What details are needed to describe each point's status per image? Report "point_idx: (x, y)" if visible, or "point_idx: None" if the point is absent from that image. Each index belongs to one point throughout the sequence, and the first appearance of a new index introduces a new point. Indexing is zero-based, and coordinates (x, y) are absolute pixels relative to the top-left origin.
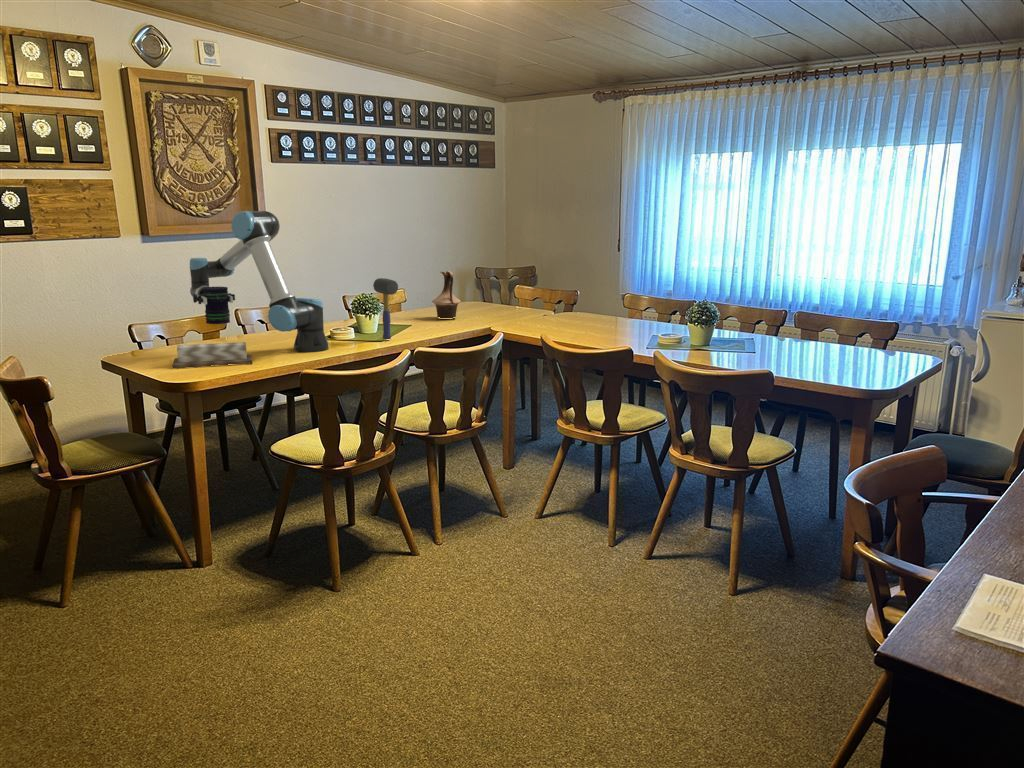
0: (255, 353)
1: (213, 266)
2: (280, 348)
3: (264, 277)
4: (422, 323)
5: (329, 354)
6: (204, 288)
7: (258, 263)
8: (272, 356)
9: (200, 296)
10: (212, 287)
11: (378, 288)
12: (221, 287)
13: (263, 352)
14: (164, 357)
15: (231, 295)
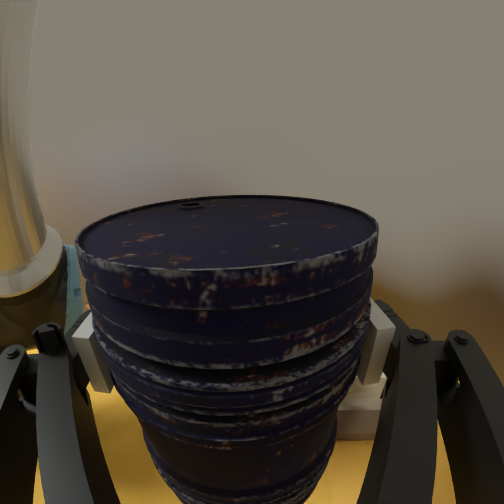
0: (133, 462)
1: None
2: (36, 470)
3: (31, 150)
4: None
5: (37, 352)
6: (359, 220)
7: (29, 81)
8: (122, 401)
9: (407, 343)
10: (243, 246)
11: None
12: (126, 235)
13: (106, 459)
14: (450, 497)
15: (25, 368)
